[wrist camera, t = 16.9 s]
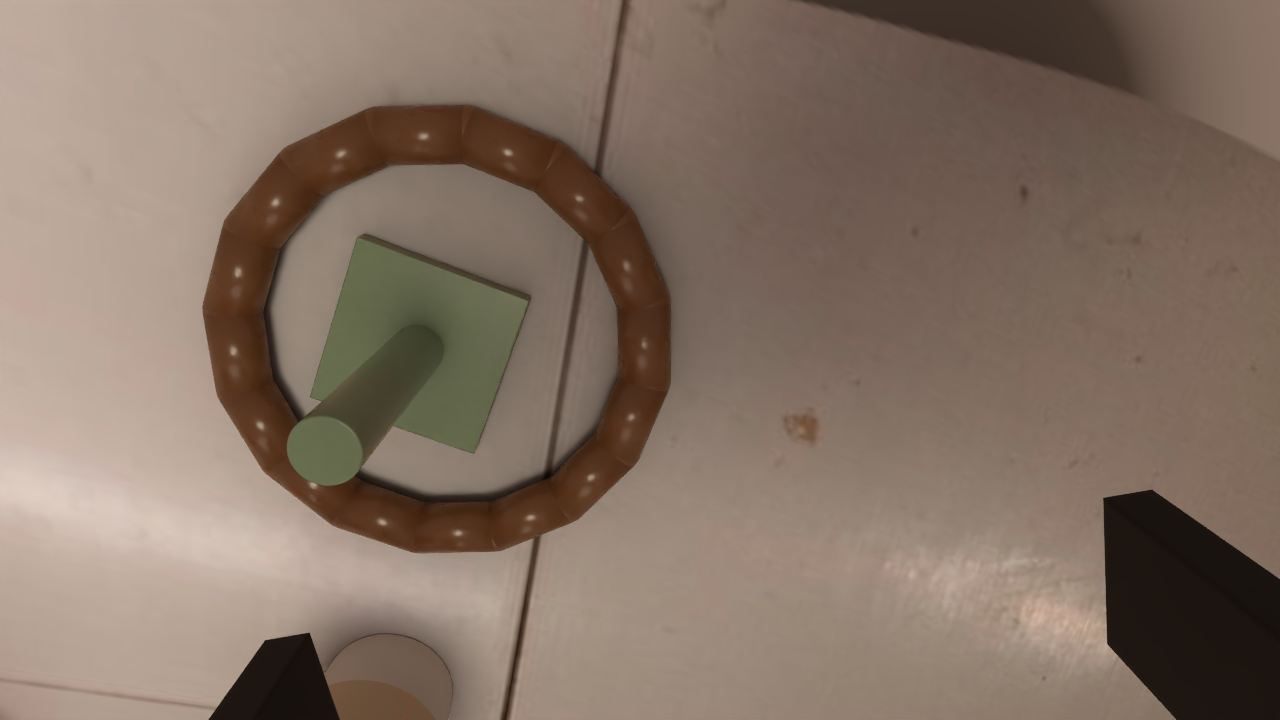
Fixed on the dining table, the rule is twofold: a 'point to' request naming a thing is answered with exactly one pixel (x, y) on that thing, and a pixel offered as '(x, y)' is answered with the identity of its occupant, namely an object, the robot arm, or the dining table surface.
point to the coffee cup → (389, 680)
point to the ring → (505, 155)
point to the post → (405, 360)
